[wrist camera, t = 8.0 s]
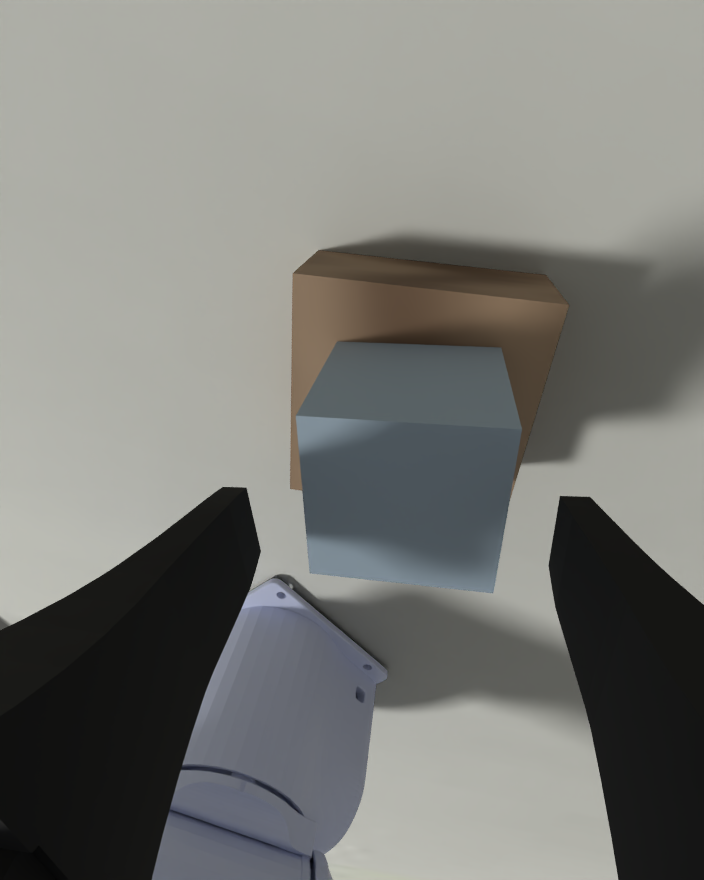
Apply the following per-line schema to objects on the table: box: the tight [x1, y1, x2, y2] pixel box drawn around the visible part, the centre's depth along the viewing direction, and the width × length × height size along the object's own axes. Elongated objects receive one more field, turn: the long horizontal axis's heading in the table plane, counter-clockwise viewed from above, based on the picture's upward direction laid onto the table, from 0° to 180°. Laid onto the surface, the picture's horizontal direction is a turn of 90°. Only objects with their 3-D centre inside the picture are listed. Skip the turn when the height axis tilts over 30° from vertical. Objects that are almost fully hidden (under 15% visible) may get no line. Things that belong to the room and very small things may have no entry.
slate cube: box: [296, 341, 522, 593], centre depth 14 cm, size 5×5×5 cm
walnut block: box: [290, 250, 569, 498], centre depth 18 cm, size 8×8×4 cm
